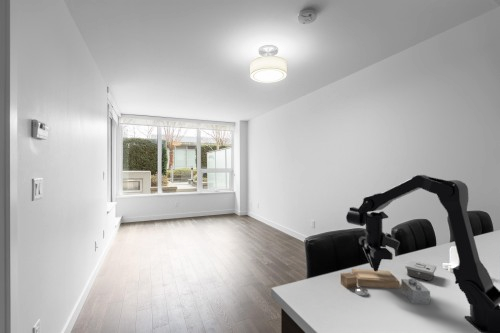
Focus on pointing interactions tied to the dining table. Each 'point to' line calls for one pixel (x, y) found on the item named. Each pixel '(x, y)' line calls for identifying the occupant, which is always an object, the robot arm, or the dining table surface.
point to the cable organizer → (452, 260)
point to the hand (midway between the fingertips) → (374, 269)
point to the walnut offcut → (348, 280)
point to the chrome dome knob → (361, 291)
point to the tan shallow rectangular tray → (375, 278)
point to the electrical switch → (420, 270)
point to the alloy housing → (415, 291)
